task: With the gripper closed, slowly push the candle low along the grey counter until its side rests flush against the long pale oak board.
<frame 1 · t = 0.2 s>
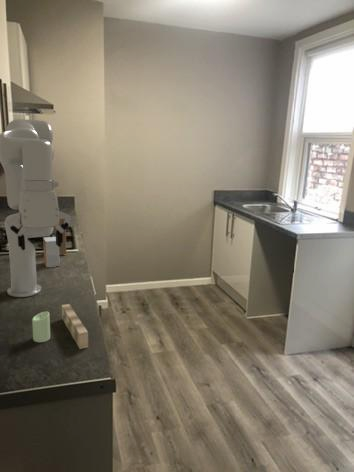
hand: (41, 247, 107), 30 cm above the counter, tool pointing down, fingers open, 9 cm apart
decorative block: (55, 255, 202), on the counter
small box: (51, 265, 186), on the counter
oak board: (74, 331, 122), on the counter
candle: (41, 339, 118), on the counter
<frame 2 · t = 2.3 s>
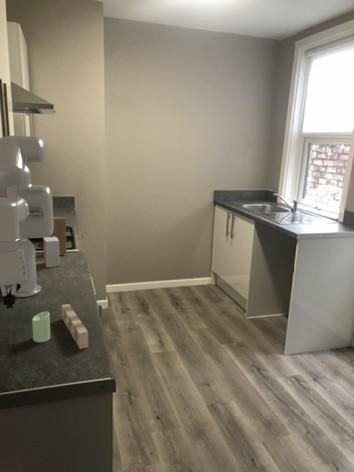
hand: (9, 306, 110), 12 cm above the counter, tool pointing down, fingers closed
nothing on the counter moved.
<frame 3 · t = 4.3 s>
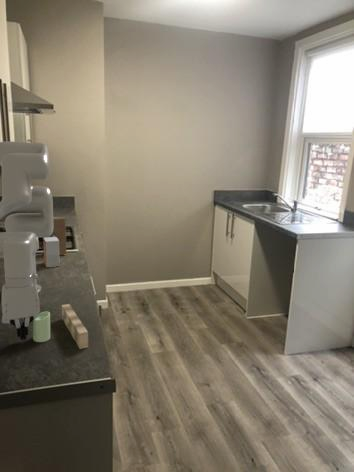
hand: (22, 337, 114), 2 cm above the counter, tool pointing down, fingers closed
candle: (41, 338, 118), on the counter, touching gripper
everything else where it was.
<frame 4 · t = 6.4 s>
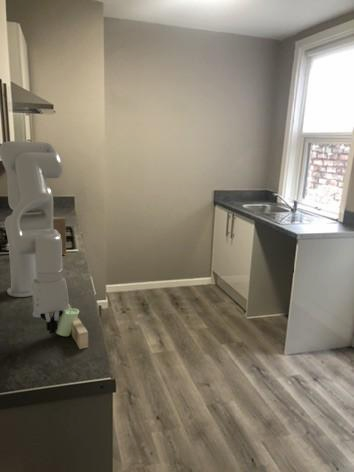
hand: (52, 331, 118), 2 cm above the counter, tool pointing down, fingers closed
candle: (61, 333, 120), point 1 cm above the counter, touching gripper
everything else where it was.
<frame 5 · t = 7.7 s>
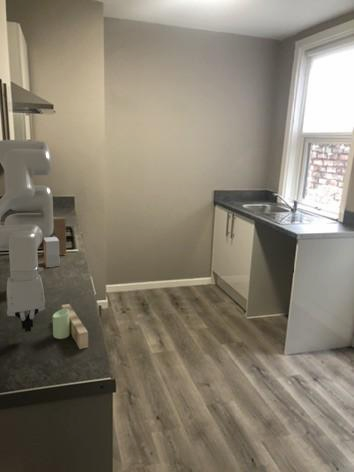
hand: (27, 329, 116), 3 cm above the counter, tool pointing down, fingers closed
candle: (61, 335, 120), on the counter
everything else where it was.
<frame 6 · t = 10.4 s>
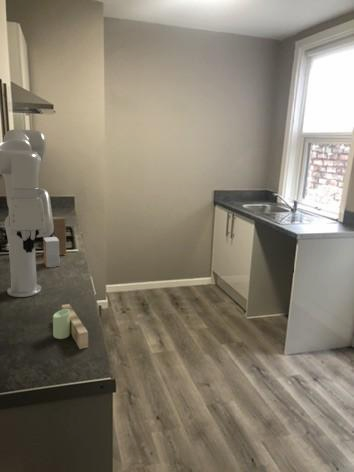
hand: (28, 251, 120), 25 cm above the counter, tool pointing down, fingers closed
nothing on the counter moved.
at the end: candle 0.5 cm from the target spot on the counter beside the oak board, on the counter; candle tilted 1° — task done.
